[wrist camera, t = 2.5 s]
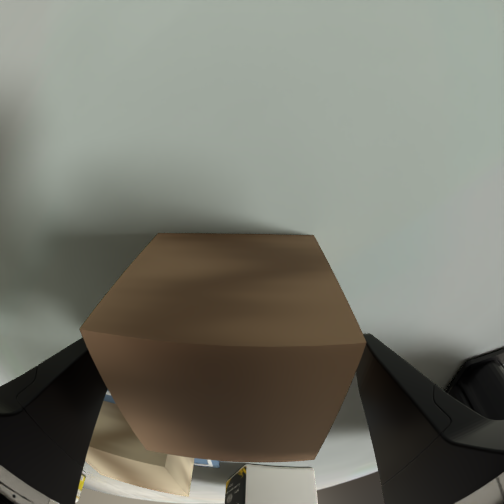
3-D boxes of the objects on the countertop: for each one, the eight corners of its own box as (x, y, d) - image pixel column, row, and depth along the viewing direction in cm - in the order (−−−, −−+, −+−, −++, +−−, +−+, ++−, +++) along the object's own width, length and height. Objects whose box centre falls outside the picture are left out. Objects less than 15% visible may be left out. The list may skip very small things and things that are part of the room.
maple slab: (176, 415, 15) (164, 467, 11) (194, 458, 18) (188, 496, 14) (76, 392, 15) (56, 432, 11) (112, 441, 18) (101, 474, 14)
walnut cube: (313, 234, 10) (366, 342, 5) (298, 350, 13) (314, 459, 7) (158, 232, 10) (79, 328, 5) (177, 346, 13) (146, 449, 7)
